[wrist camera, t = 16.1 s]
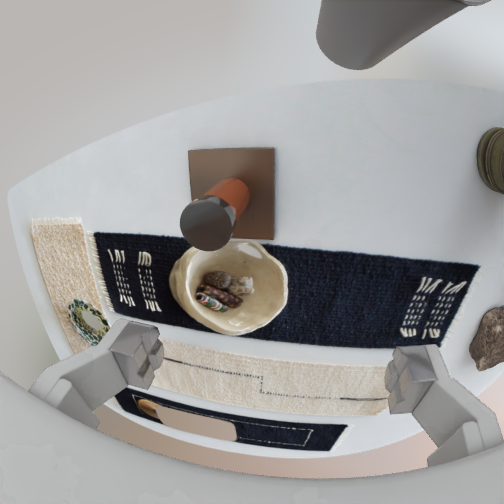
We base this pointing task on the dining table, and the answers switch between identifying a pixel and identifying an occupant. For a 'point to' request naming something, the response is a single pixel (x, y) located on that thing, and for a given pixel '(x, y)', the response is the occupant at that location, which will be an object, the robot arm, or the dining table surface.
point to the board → (250, 173)
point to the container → (492, 159)
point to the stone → (489, 340)
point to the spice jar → (215, 215)
